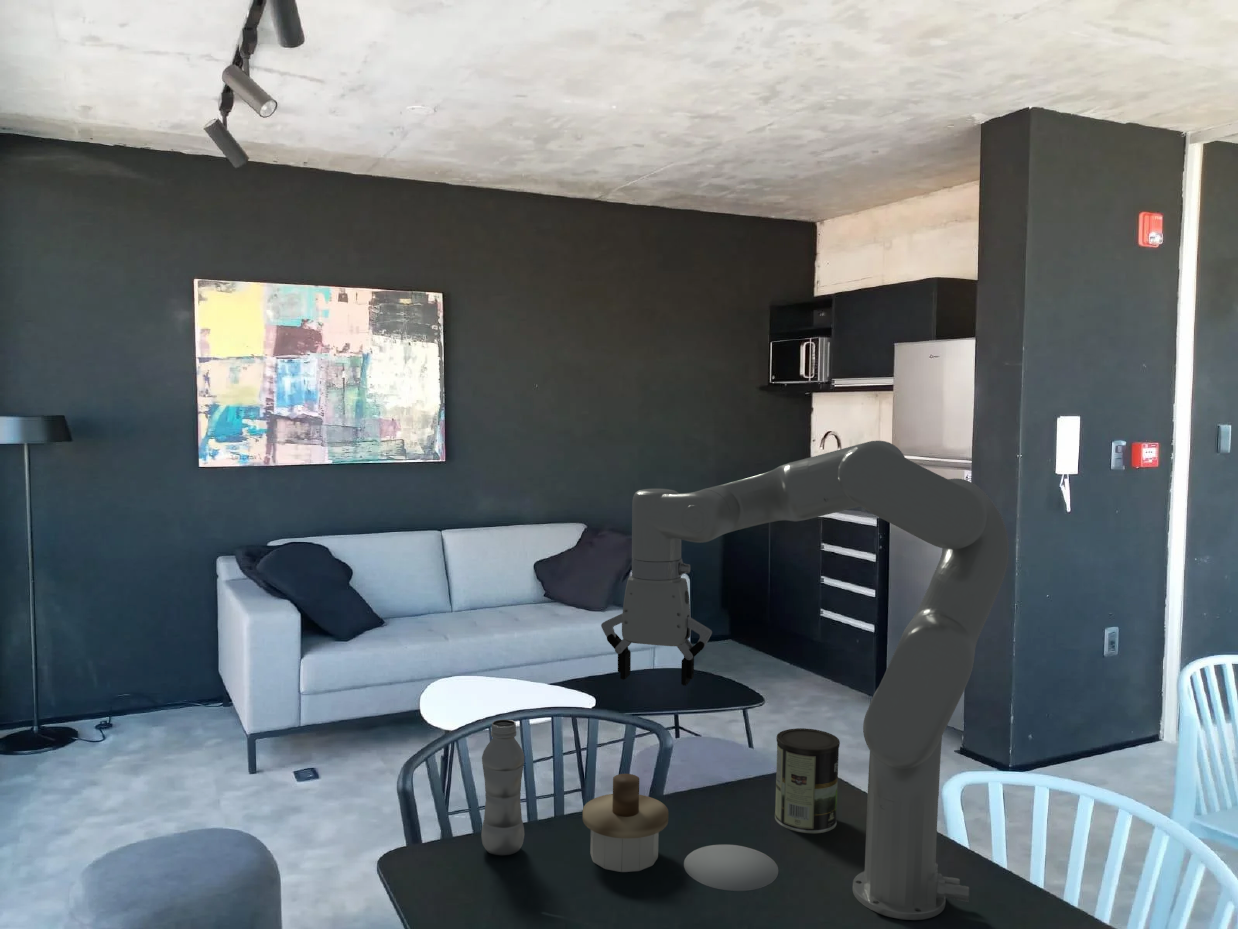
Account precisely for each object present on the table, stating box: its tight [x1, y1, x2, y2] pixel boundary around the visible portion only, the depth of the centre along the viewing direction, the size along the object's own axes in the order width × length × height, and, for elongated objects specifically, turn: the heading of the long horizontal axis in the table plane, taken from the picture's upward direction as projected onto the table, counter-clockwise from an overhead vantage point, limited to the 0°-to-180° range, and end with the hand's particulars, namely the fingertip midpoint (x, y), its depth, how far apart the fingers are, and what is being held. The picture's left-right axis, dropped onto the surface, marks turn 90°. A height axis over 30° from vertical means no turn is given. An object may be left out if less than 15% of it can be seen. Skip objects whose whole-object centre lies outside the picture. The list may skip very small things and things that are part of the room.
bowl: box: [589, 830, 660, 873], centre depth 145 cm, size 10×10×6 cm
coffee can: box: [774, 727, 841, 834], centre depth 159 cm, size 10×10×14 cm
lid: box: [582, 773, 669, 838], centre depth 145 cm, size 13×13×6 cm
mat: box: [683, 844, 779, 892], centre depth 143 cm, size 14×14×1 cm
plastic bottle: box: [480, 718, 525, 856], centre depth 146 cm, size 6×7×20 cm
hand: (655, 680), depth 147 cm, fingers open, 9 cm apart
